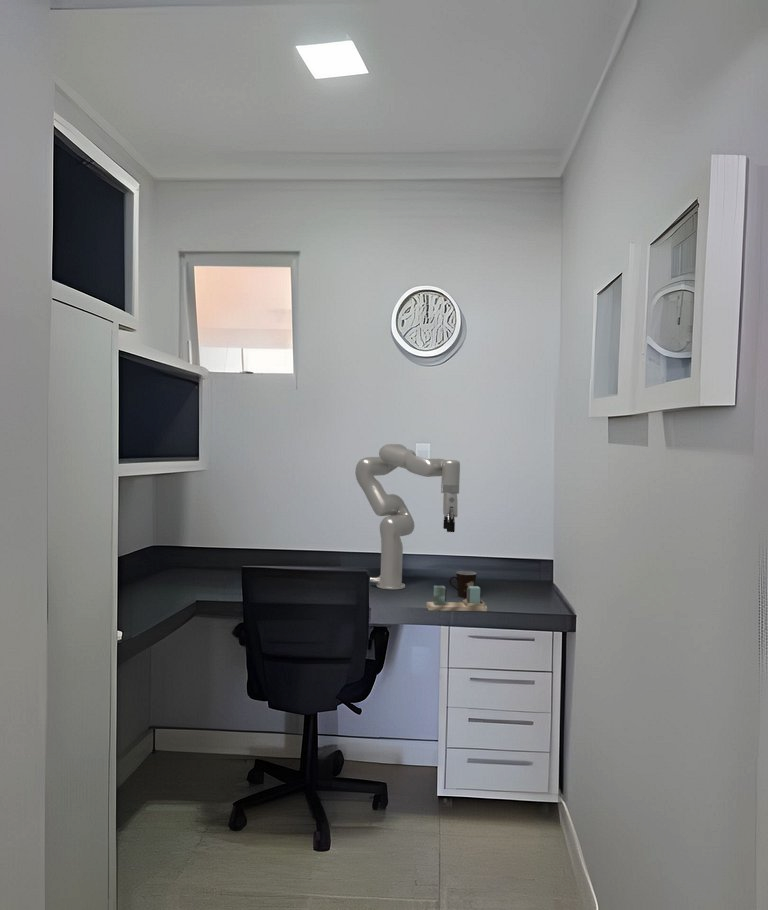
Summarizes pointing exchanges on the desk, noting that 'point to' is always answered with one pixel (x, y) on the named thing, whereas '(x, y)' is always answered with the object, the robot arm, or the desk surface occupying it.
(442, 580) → the desk surface
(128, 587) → the desk surface
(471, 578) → the coffee mug
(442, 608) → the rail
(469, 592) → the pale green block
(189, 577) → the desk surface
